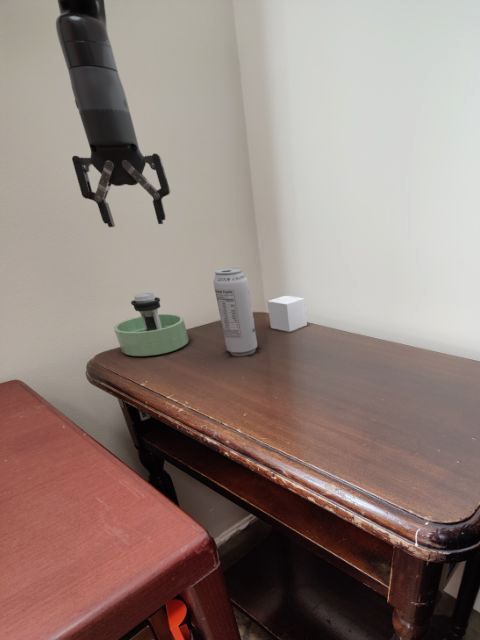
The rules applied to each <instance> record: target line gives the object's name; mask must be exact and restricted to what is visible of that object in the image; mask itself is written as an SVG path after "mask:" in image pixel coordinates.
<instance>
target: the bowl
mask: <svg viewBox="0 0 480 640" xmlns="http://www.w3.org/2000/svg"><path fill="white" fill-rule="evenodd" d="M158 315H159V318H160V322H161V325H162V329H158V330H152V331H145V326H144V323H143V320H142V317H141V315H140V316H136V317H132V318H129V319H126V320H122V321H121V322H119V323H117V324H115V325H114V327H113V328H114V329H113V330H114V333H115V336H116V339H117V341H118V344H119V347H120V350H121V352H122V353H123V354H125V355H127V356H132V357H153V356H159V355H164V354H168V353H169V354H170V353H171V352H174V351H177V350H179V349H181V348H183V347H185V346H186V345H187V344H189V340H190V339H189V336H188V331H187V328H186V327H187V326H186V324H185V320H184V317H183V316H182V315H179V314H174V313H173V314H172V313H158Z"/></svg>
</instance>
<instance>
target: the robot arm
mask: <svg viewBox="0 0 480 640" xmlns="http://www.w3.org/2000/svg"><path fill="white" fill-rule="evenodd" d="M57 5H58V9H59V15H58V16H57V18H56V20H55V30H56V34H57V38H58V39H57V40H58V42H59V46H60V49H61V52H62V55H63V58H64V62H65V64H66V65H65V66H66V68H67V71H68V75H69V79H70V85H71V90H72V93H73V98H74V103H75V106H76V109H77V110H78V114H79V116H80V120H81V123H82V126H83V130H84V133H85V136H86V140H87V143H88V146H89V149H90V157H88V156H87V157H86V156H80V155H73V156H72V158H71V160H72V164H73V168H74V172H75V174H76V178H77V182H78V187H79V189H80V193H81V197H83V198H84V199H87V200H91V201H93V202H95V203H96V205H97V208H98V211H99V214H100V216H101V220H102V222H103V224H105V225H106V224H107V226H108V228H115V227H116V226H115V225H116V224H115V220H114V218H113V215H112V212H111V208H110V204H109V202H107V200H106V199H107V196H108V194H109V191H110V190H111V187H112V186H114V187H122V186H125V185H127V186H136V185H140V186H141V187H142V188H143V189H144V190H145V191H146V192H147V193H148V194H149V195H150V196H151V198H152V199H153V200H152V204H153V208H154V212H155V215H156V216H155V217H156V220H157V224H158V225H164V221H165V220H166V218H167V217H166V213H165V212H166V211H165V207H164V204H163V198H164V197H167V196H168V195H170V194H171V189H170V186H169V182H168V178H167V174H166V172H165V169H164V164H163V161H162V158H161V155H159V154H158V153H152V154H151V155H143V153H142V152H141V150H140V147H139V143H138V137H137V135H136V132H135V126H134V122H133V118H132V115H131V112H130V107H129V103H128V99H127V96H126V91H125V88H124V85H123V83H122V80H121V78H120V74H119V71H118V65H117V62H116V58H115V55H114V51H113V47H112V43H111V40H110V37H109V33H108V21H107V13H106V6H105V5H106V4H105V0H57ZM146 164H147V165H149V168H150V169H151V170H153V171H155V172H156V176H157V180H158V183H159V186H160V188H159V189H156V187H155V186H153V184H152V183H151V182H150V181H149V180H148V178H146V177H145V176H144V175H143V173H144V170H145V167H146ZM91 166H93V167H94V169H96V170H97V171H98V172H99V174H101V175H100V178H99V180H98V183H97V188H96V190H95V191H93V189H92V186H91V182H90V178H89V175H88V173H90V171H91Z"/></svg>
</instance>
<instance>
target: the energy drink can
mask: <svg viewBox="0 0 480 640" xmlns="http://www.w3.org/2000/svg"><path fill="white" fill-rule="evenodd" d="M214 273H215V275H214V278H213V282H212V283H213V288H214V293H215V298H216V303H217V308H218V312H219V317H220V323H221V327H222V333H223V337H224V343H225V347H226V350H227V351H228V352H229V353H230V355H231V356H233V357H245V356H249V355H252V354H254V353H255V352H256V349H257V348H258V340H257V334H256V333H257V332H256V327H255V320H254V314H253V307H252V300H251V295H250V287H249V283H248V281H249V280H248V278H247V276H246V275H245V273H244V272H243V268H240V267H227V268H220V269H216V270H215V271H214Z"/></svg>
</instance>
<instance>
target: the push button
mask: <svg viewBox="0 0 480 640" xmlns="http://www.w3.org/2000/svg"><path fill="white" fill-rule="evenodd" d="M133 298H134V299H133V300H131V301H130V304H131V306H133V308H134V310H135V311H136V312H138V313H139V314H140V316H141V317H142V320H143V323H144V326H145V331H152V330H158V329H162V325H161V322H160V318H159V315H158V314H159V312H158V310H159V309H160V308H161V303H160V302H161V299H160V297H158V296H157V297H156V296H155V294H154V293H153V292H144V293H143V292H142V293H138V294H134V295H133Z"/></svg>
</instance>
